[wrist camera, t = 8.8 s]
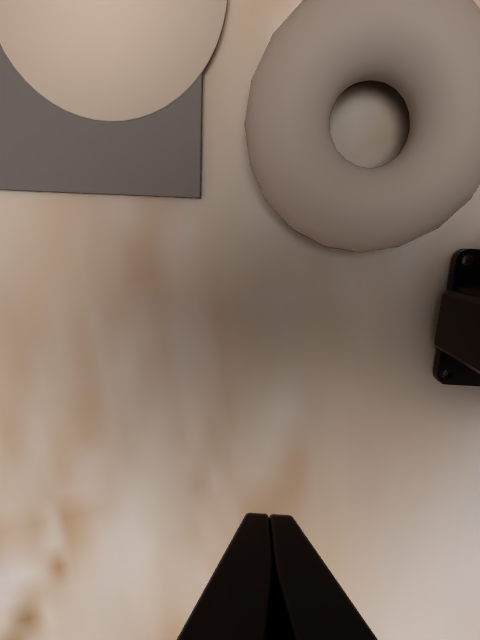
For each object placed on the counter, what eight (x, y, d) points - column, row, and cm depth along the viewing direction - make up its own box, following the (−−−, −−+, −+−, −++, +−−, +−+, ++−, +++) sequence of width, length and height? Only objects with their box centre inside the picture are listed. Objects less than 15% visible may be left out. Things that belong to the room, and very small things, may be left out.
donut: (201, 109, 16) (324, 292, 18) (187, 75, 13) (340, 304, 14) (399, -53, 15) (517, 162, 16) (442, -139, 11) (586, 142, 13)
